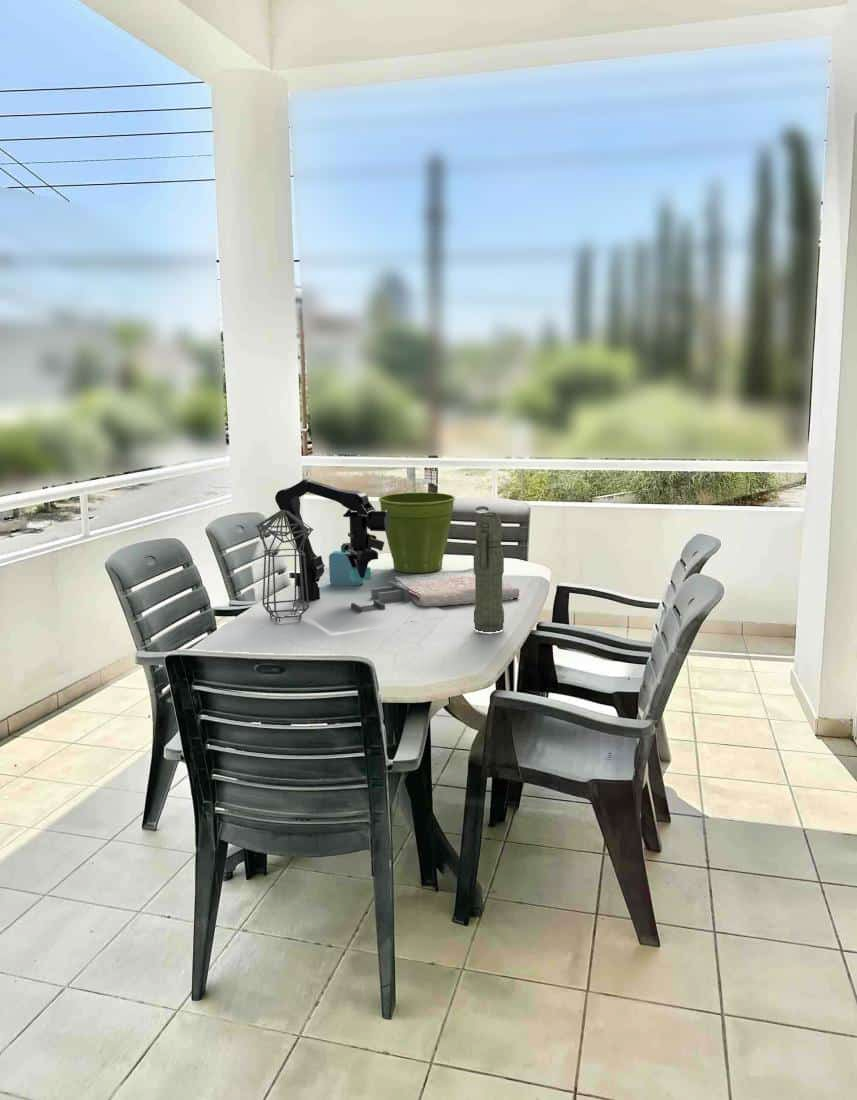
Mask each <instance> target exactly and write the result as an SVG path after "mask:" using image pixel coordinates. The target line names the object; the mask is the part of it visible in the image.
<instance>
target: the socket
mask: <svg viewBox="0 0 857 1100" xmlns="http://www.w3.org/2000/svg"><path fill="white" fill-rule="evenodd" d="M370 596H371V597H370V598H371V599H372V600H374V599H375V600H376V599H378V601H379V602H381V603H383V604H384V603H389V602H397V601H404V602H405V603H408V602H410V599H409V589H407V588H405V587H403V586H401V585H399V584H397V583H395V581H393V580H391V581H388V586H383V587H375V588H370Z"/></svg>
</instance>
